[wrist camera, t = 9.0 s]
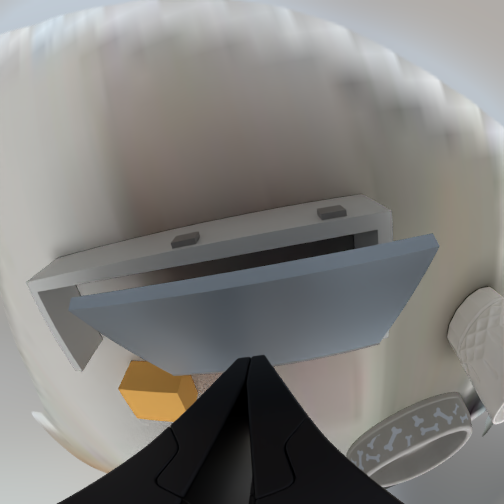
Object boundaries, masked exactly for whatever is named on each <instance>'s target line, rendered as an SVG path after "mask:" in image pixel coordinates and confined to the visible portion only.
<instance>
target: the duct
mask: <svg viewBox="0 0 504 504" xmlns="http://www.w3.org/2000/svg"><path fill="white" fill-rule="evenodd" d="M351 234H354V244H355V249H357V248H363V247H368V246H373V245H378V244H383V243H388V242H393V226H392V210H390V209H388V208H387V207H385V206H383V205H381V204H380V203H378V202H376V201H374V200H373V199H371V198H369V197H367V196H366V195H364V194H358V195H352V196H346V197H339V198H333V199H327V200H321V201H315V202H309V203H303V204H298V205H292V206H286V207H281V208H275V209H270V210H265V211H259V212H254V213H249V214H244V215H239V216H234V217H229V218H224V219H219V220H214V221H209V222H205V223H200V224H195V225H191V226H186V227H182V228H177V229H173V230H168V231H164V232H159V233H155V234H151V235H146V236H142V237H138V238H134V239H130V240H125V241H121V242H117V243H113V244H109V245H105V246H101V247H97V248H94V249H90V250H86V251H82V252H78V253H75V254H71V255H67V256H63V257H60V258H57V259H55V260H54V261H53V262H51V263H50V264H49V265H47V266H46V267H45V268H44V269H42V270H41V271H40V272H38V273H37V274H36V275H35V276H33V277H32V278H31V279H30V280H28V281H27V282H26V284H27V286H28V288H29V290H30V292H31V295H32V297H33V299H34V301H35V303H36V305H37V307H38V309H39V311H40V313H41V315H42V316H43V318H44V320H45V322H46V324H47V326H48V327H49V329H50V331H51V333H52V334H53V336H54V338H55V340H56V341H57V343H58V345H59V346H60V348H61V349H62V351H63V353H64V354H65V356H66V357H67V359H68V360H69V362H70V363H71V365H72V366H73V368H74V369H75V371H83V370H84V368H85V367H86V365H87V363H88V362H89V360H90V358H91V357H92V355H93V354H94V352H95V351H96V349H97V347H98V346H99V344H100V343H101V341H102V340H103V339H102V337H101V335H100V333H99V332H98V331H97V330H95V329H94V328H92V327H91V326H89V325H88V324H87V323H85V322H84V321H82V320H81V319H79V318H78V317H77V316H75V315H74V314H72V313H71V312H70V311H68V309H69V305H70V300H71V298H73V297H79V296H80V294H79V291H78V289H77V287H76V285H78V284H84V283H89V282H95V281H100V280H106V279H111V278H117V277H122V276H128V275H133V274H139V273H144V272H149V271H155V270H160V269H166V268H171V267H177V266H182V265H188V264H193V263H199V262H204V261H210V260H215V259H221V258H226V257H231V256H237V255H242V254H248V253H253V252H259V251H264V250H270V249H275V248H280V247H286V246H291V245H297V244H302V243H308V242H313V241H319V240H324V239H329V238H335V237H340V236H346V235H351ZM388 334H389V330H388V332H387V333H386V334H385V336H384V337H383V339H384V338H388Z"/></svg>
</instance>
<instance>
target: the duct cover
mask: <svg viewBox="0 0 504 504" xmlns="http://www.w3.org/2000/svg"><path fill="white" fill-rule="evenodd" d="M438 248H439V244H438V242H437V240H436V239H435V237H434V235H433V233H432V234H427V235H422V236H417V237H413V238H408V239H403V240H398V241H393V242H388V243H383V244H378V245H373V246H368V247H363V248H357V249H352V250H347V251H342V252H337V253H332V254H326V255H321V256H316V257H310V258H305V259H300V260H294V261H289V262H283V263H278V264H272V265H267V266H261V267H256V268H250V269H244V270H239V271H233V272H227V273H222V274H216V275H210V276H204V277H198V278H192V279H186V280H181V281H175V282H168V283H162V284H156V285H150V286H144V287H138V288H131V289H125V290H119V291H112V292H106V293H99V294H93V295H86V296H79V297H73V298H71V300H70V305H69V309H68V311H70V312H71V313H72V314H74V315H75V316H77V317H78V318H79V319H81V320H82V321H84V322H85V323H87V324H88V325H89V326H91V327H92V328H94V329H95V330H97V331H98V332H100V333H101V334H103V335H104V336H106V337H108V338H109V339H111V340H112V341H114V342H115V343H117V344H119V345H120V346H122V347H124V348H125V349H127V350H129V351H130V352H132V353H134V354H135V355H137V356H139V357H141V358H142V359H144V360H146V361H148V362H150V363H151V364H153V365H155V366H157V367H159V368H161V369H162V370H164V371H166V372H168V373H170V374H172V375H173V376H182V375H199V374H212V373H223V372H225V371H226V370H227V369H228V368H229V367H230V366H231V365H232V364H233V362H234V361H235V360H236V359H238V358H242V357H252V356H257V355H265V356H266V357H267V359H268V360H269V362H270V363H271V365H272V366H279V365H286V364H292V363H297V362H303V361H308V360H314V359H319V358H324V357H329V356H333V355H338V354H342V353H347V352H351V351H355V350H359V349H363V348H367V347H371V346H375V345H378V344H379V343H380V341H381V340H382V339H383V337H384V336H385V334H386V333H387V332H388V330H389V329H390V327H391V326H392V324H393V323H394V322H395V320H396V319H397V317H398V316H399V314H400V313H401V311H402V310H403V308H404V307H405V305H406V304H407V302H408V300H409V299H410V297H411V296H412V294H413V292H414V291H415V289H416V287H417V286H418V284H419V282H420V281H421V279H422V277H423V276H424V274H425V272H426V270H427V269H428V267H429V265H430V263H431V261H432V260H433V258H434V256H435V254H436V252H437V250H438Z"/></svg>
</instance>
